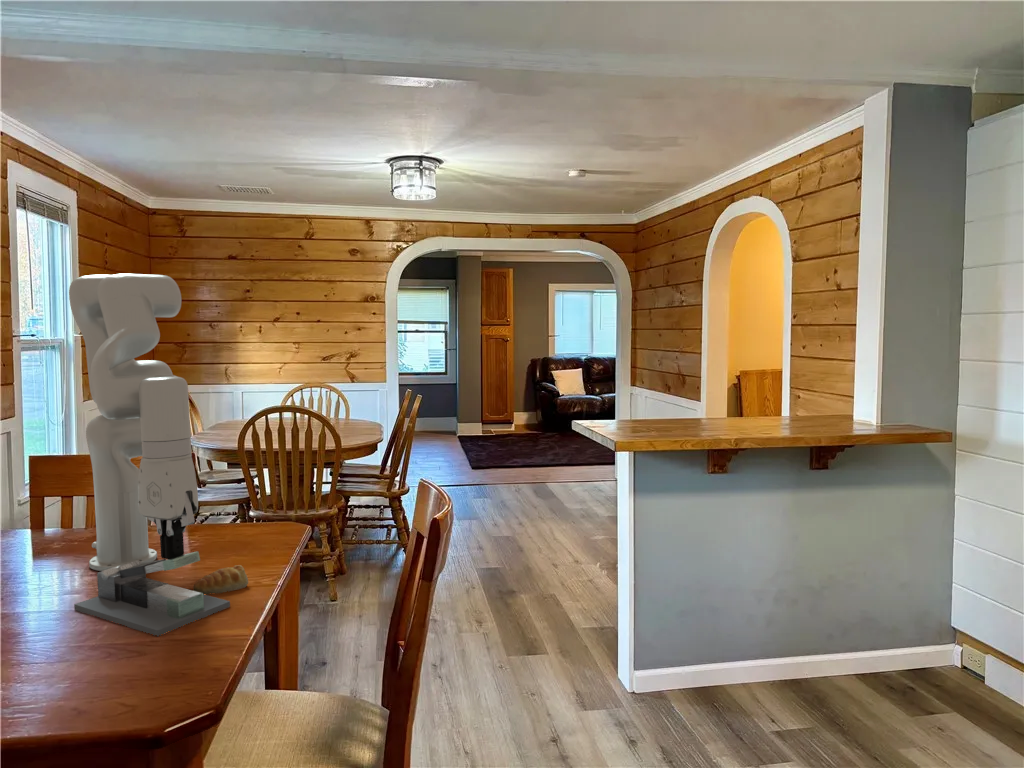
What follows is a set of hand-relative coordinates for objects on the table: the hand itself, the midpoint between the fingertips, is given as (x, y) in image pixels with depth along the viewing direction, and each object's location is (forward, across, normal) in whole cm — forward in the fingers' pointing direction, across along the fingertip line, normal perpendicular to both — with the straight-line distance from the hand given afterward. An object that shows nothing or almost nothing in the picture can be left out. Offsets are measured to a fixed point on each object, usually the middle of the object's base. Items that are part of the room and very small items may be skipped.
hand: (172, 556), depth 123 cm
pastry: (+11, -4, +13) cm, 18 cm away
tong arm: (+3, -4, 0) cm, 5 cm away
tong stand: (+9, -7, 0) cm, 12 cm away
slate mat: (+10, -7, 0) cm, 12 cm away
